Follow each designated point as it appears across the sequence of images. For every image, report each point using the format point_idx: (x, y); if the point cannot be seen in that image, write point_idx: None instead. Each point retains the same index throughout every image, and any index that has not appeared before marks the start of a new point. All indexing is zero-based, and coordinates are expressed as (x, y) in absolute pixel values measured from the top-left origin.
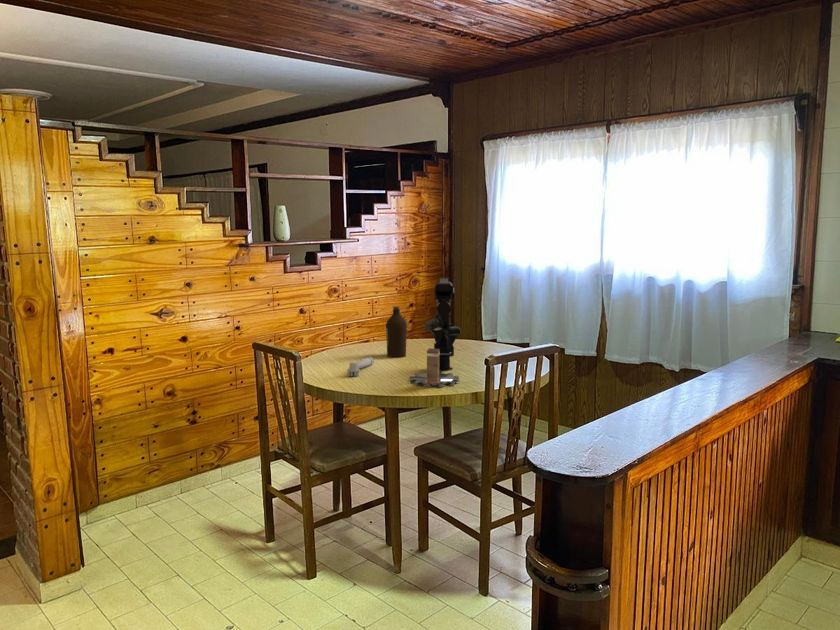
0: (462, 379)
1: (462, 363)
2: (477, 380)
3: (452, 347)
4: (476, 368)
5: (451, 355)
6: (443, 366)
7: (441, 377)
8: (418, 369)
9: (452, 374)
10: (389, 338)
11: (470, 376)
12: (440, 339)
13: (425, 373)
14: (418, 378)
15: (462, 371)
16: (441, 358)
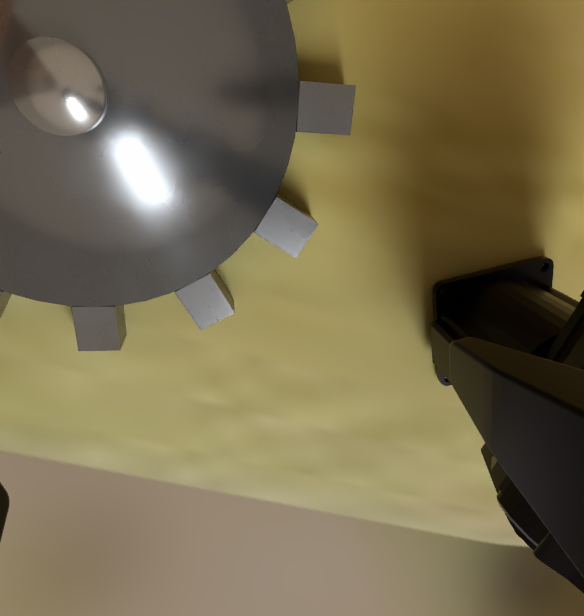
0: (108, 368)
1: None
2: (59, 458)
3: (517, 534)
4: (394, 517)
5: (488, 450)
6: (454, 322)
7: (64, 179)
8: (580, 100)
9: (199, 325)
10: None
11: (193, 442)
12: (549, 522)
13: (286, 56)
14: None
15: (354, 426)
16: (518, 344)
